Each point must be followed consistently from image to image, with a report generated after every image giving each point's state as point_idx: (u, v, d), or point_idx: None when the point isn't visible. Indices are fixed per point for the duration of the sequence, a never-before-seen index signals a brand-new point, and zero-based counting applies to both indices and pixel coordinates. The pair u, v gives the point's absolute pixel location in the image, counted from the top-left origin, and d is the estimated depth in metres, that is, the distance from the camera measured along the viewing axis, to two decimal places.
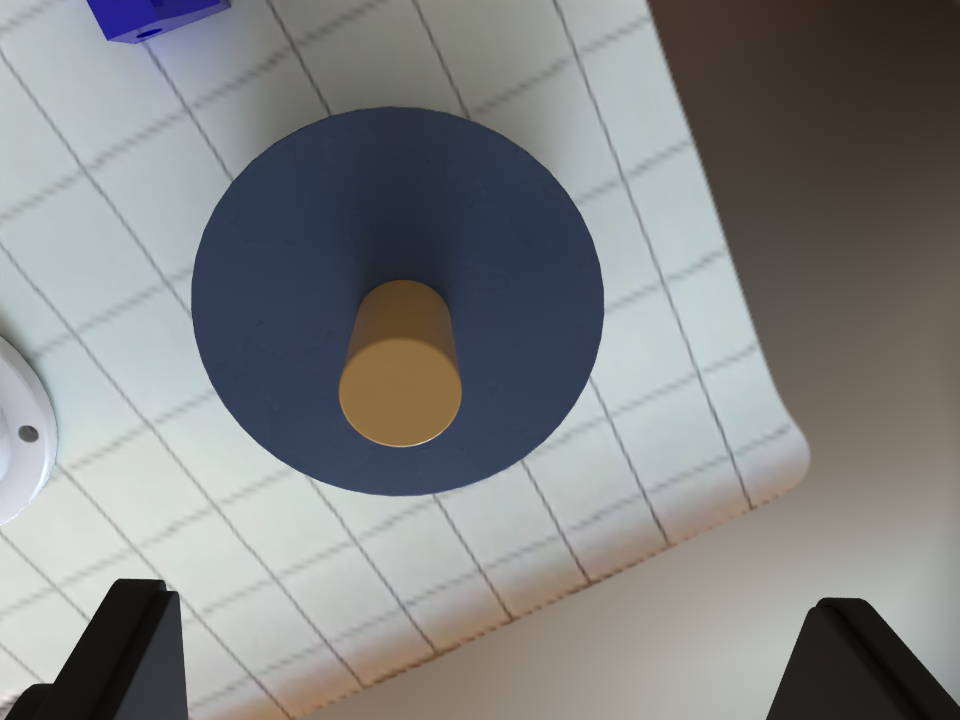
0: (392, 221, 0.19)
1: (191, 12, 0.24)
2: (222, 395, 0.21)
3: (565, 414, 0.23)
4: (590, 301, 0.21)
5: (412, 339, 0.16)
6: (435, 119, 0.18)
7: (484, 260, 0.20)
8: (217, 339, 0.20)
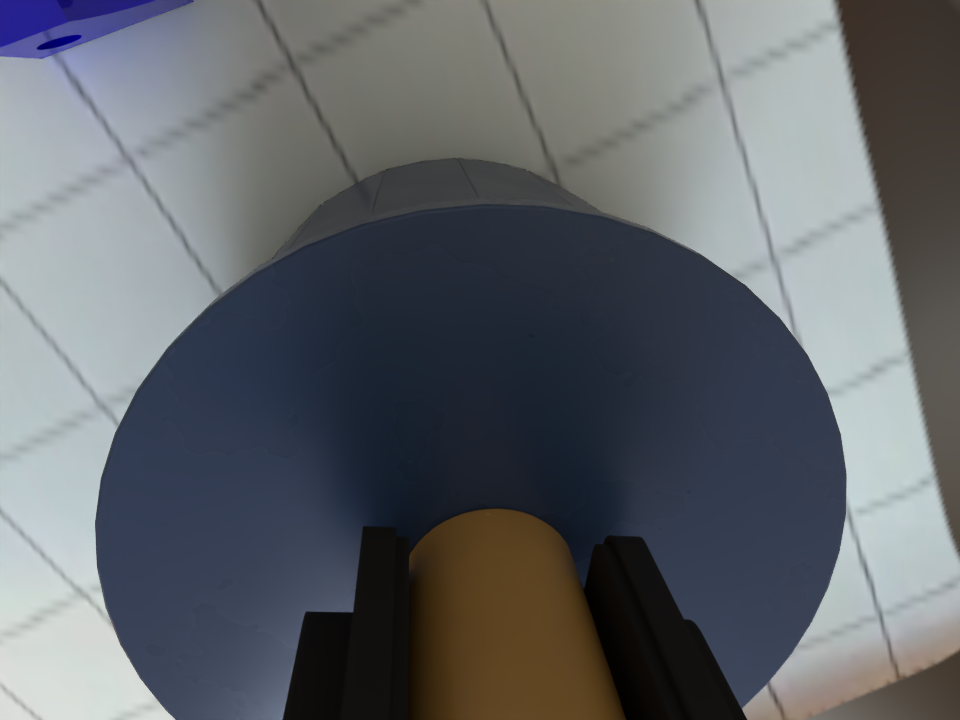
0: (478, 412, 0.10)
1: (124, 9, 0.14)
2: (159, 695, 0.12)
3: (750, 698, 0.13)
4: (821, 531, 0.12)
5: None
6: (576, 228, 0.09)
7: (643, 472, 0.11)
8: (147, 611, 0.11)
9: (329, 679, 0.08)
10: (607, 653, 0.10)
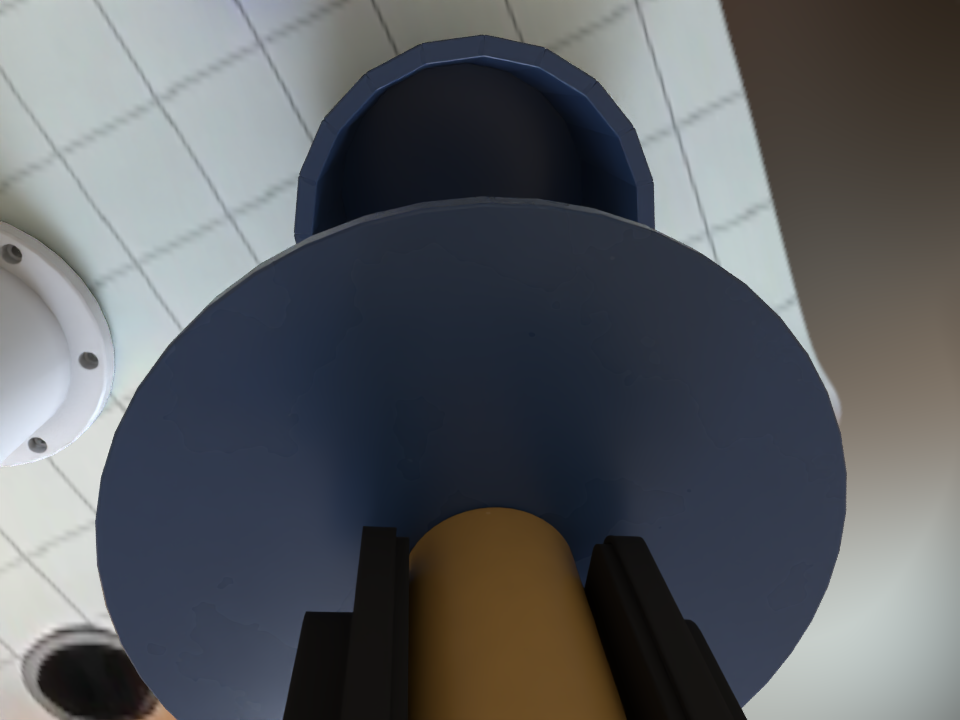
0: (479, 410, 0.10)
1: None
2: (159, 693, 0.12)
3: (750, 697, 0.13)
4: (820, 530, 0.12)
5: None
6: (577, 226, 0.09)
7: (643, 471, 0.11)
8: (147, 610, 0.11)
9: (329, 680, 0.08)
10: (607, 653, 0.10)
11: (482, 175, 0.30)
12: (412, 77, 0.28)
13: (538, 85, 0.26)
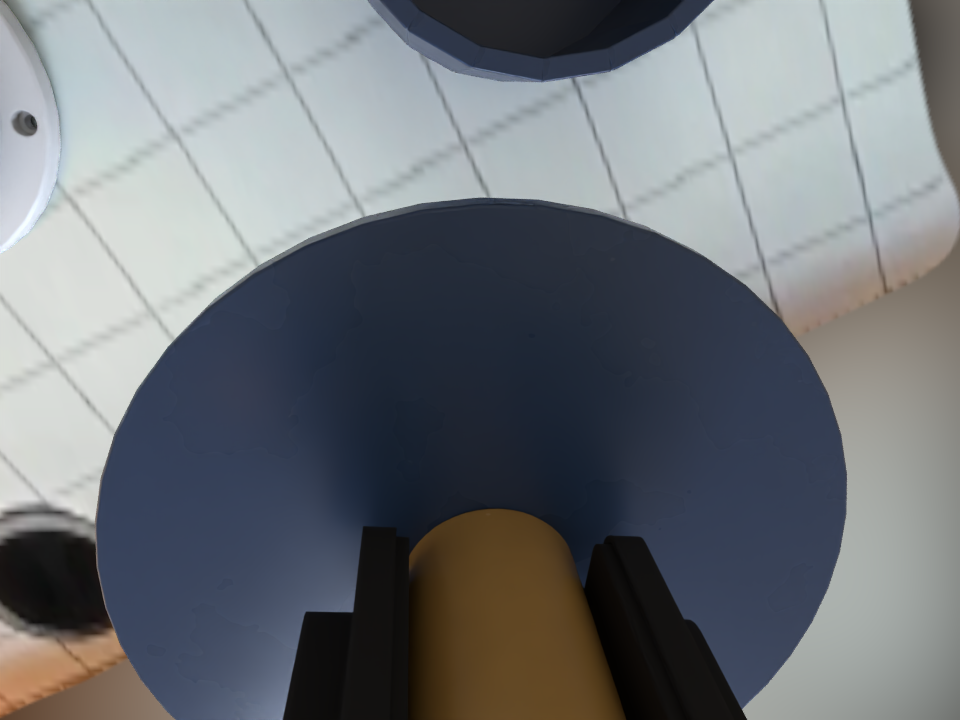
0: (479, 412, 0.10)
1: None
2: (159, 694, 0.12)
3: (750, 698, 0.13)
4: (820, 532, 0.12)
5: None
6: (577, 227, 0.09)
7: (643, 472, 0.11)
8: (147, 611, 0.11)
9: (330, 679, 0.08)
10: (607, 653, 0.10)
11: None
12: None
13: None
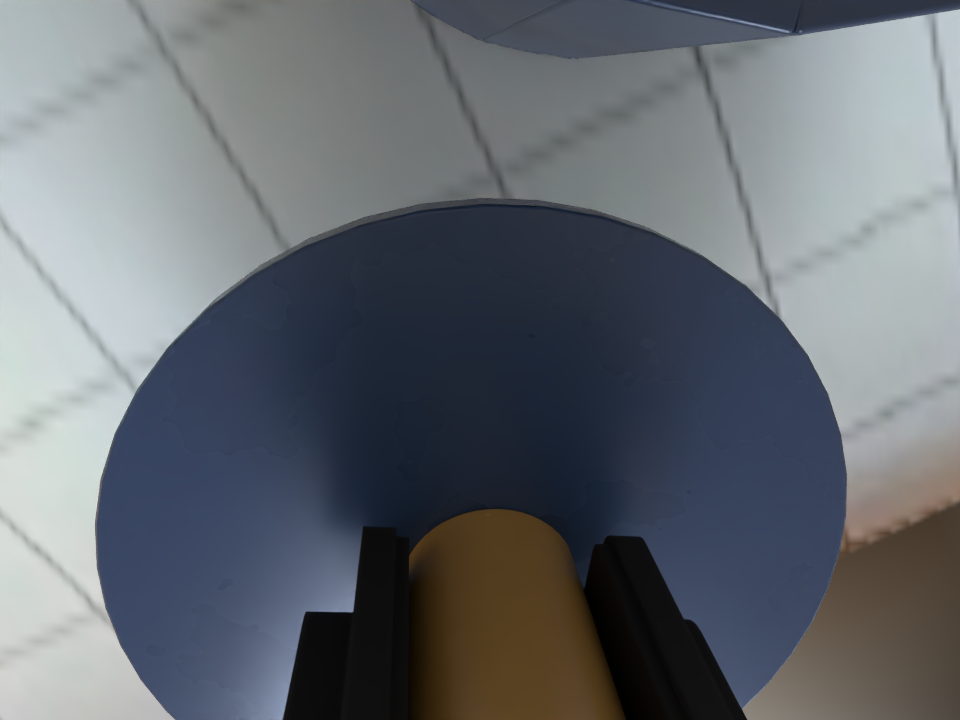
0: (478, 412, 0.10)
1: None
2: (159, 695, 0.12)
3: (750, 698, 0.13)
4: (821, 532, 0.12)
5: None
6: (577, 228, 0.09)
7: (643, 473, 0.11)
8: (147, 611, 0.11)
9: (329, 679, 0.08)
10: (607, 653, 0.10)
11: None
12: None
13: None
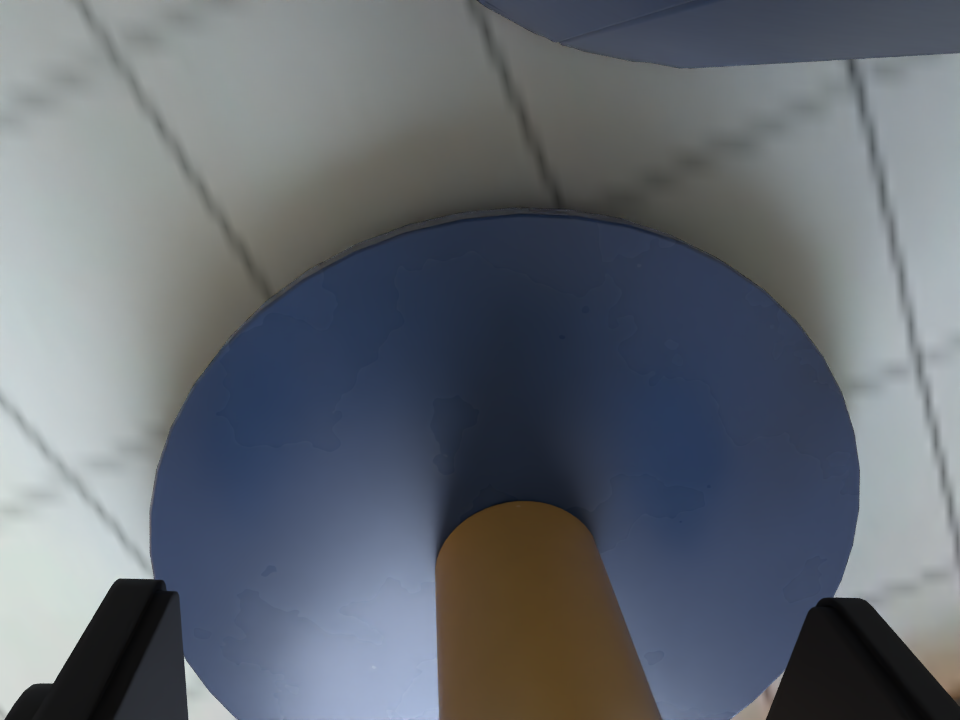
0: (511, 409, 0.11)
1: None
2: (204, 676, 0.12)
3: (765, 686, 0.14)
4: (834, 526, 0.12)
5: None
6: (606, 236, 0.10)
7: (665, 467, 0.11)
8: (195, 596, 0.12)
9: None
10: None
11: None
12: None
13: None
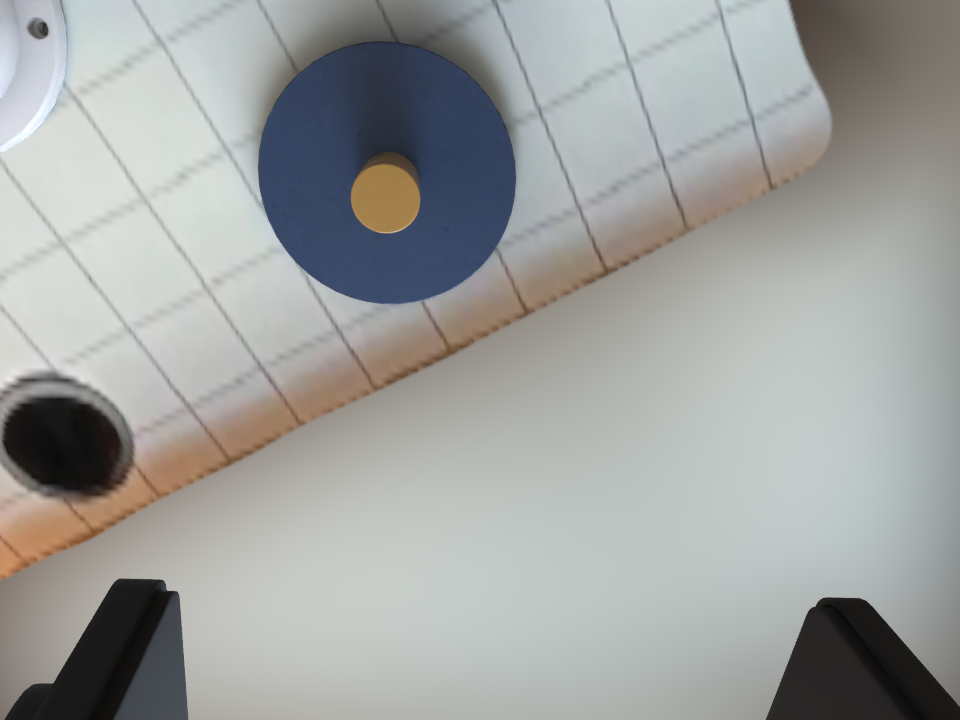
0: (382, 113, 0.32)
1: None
2: (274, 227, 0.34)
3: (493, 248, 0.35)
4: (506, 169, 0.33)
5: (392, 164, 0.28)
6: (408, 49, 0.31)
7: (439, 140, 0.33)
8: (273, 189, 0.33)
9: None
10: None
11: None
12: None
13: None
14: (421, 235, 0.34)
